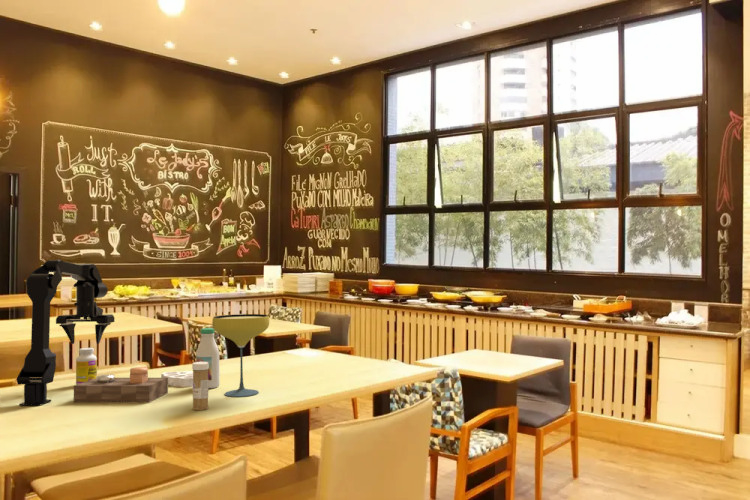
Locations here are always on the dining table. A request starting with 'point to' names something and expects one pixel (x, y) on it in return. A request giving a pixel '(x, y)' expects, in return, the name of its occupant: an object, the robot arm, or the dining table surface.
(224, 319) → the cocktail glass
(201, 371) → the sprinkles bottle
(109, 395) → the brown flat block
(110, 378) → the knob steel
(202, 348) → the milk bottle
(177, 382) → the white recessed tray
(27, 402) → the robot arm
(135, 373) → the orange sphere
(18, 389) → the dining table surface
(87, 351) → the supplement bottle
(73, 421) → the dining table surface
